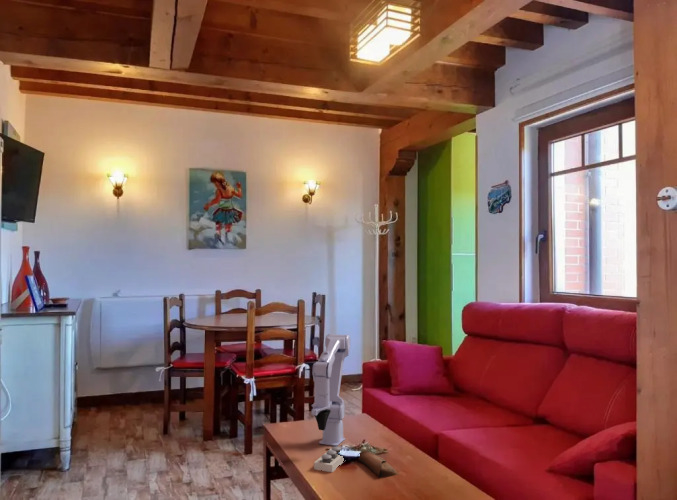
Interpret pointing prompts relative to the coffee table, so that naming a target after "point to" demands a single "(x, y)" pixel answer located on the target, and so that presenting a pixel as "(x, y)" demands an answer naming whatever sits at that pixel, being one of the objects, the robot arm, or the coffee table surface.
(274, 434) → the coffee table surface
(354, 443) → the coffee table surface
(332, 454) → the knob middle
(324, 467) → the knob board
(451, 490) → the coffee table surface
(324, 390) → the robot arm
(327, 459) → the knob
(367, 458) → the sunglasses case
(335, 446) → the knob
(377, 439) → the coffee table surface
